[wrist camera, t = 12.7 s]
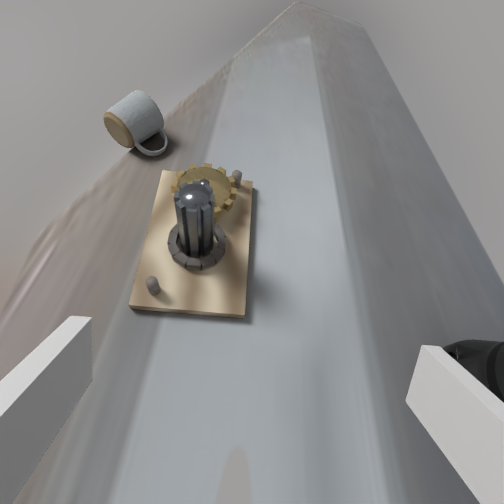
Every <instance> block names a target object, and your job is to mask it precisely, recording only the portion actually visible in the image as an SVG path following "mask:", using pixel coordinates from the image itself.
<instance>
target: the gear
mask: <svg viewBox="0 0 504 504" xmlns="http://www.w3.org/2000/svg"><path fill="white" fill-rule="evenodd" d="M176 176H177V181H174V180H172V184H171V190H172V198H173V201H174V193H175V190H177V191H179V185H181V184H183V183H185V182H187V183H188V184H192V182H193V181H201V185H203V186H205V185H207V184H208V185H209V186H210V187H211V188H212V189H213V194H214V195H215V210H214V218H217V217H220V216H221V210H223V209H225V210H226V211H229V210H230V209H231V208H232V206H233V200H236V191H237V188H234V186H235V180H234V178H233V177H232V176H230V177H226V170H225V169H223V168H221V167H219V168H218V169H217V170H216V169H213V168H212V164H207V163H204V167H197V166H196V164H193V165H189V170H188V171H186V172H184V171H183V170H180V171H179V172H178V173H177V174H176ZM174 204H175V203H174Z"/></svg>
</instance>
